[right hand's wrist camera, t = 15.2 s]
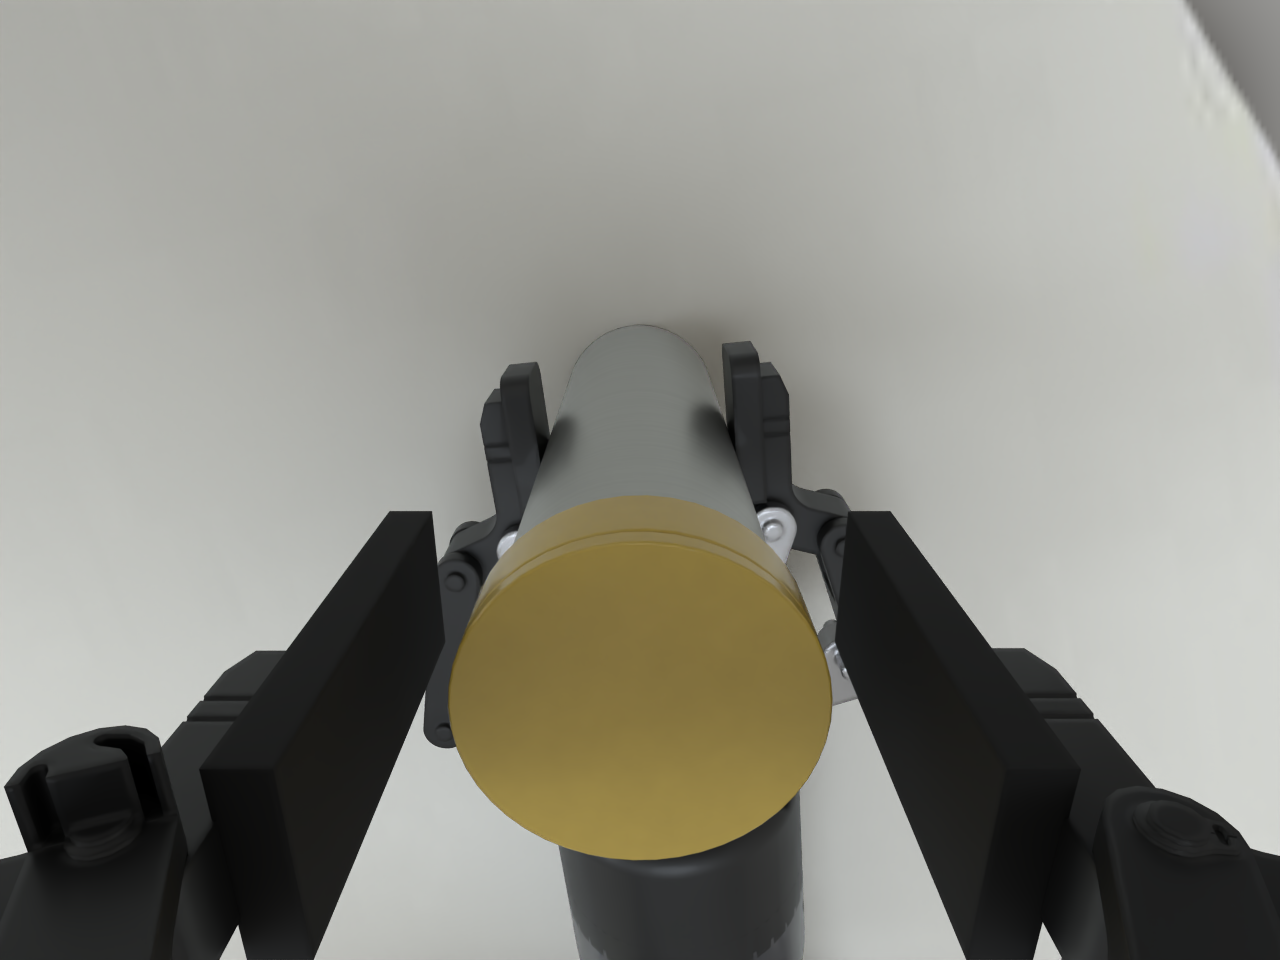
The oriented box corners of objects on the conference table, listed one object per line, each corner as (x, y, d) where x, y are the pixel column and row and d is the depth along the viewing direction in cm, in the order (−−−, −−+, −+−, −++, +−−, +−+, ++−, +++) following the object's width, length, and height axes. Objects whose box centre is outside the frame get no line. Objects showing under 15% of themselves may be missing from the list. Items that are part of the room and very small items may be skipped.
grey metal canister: (711, 461, 27) (798, 811, 12) (572, 466, 27) (492, 819, 12) (712, 322, 25) (813, 532, 11) (563, 327, 25) (456, 543, 11)
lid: (829, 500, 11) (859, 550, 10) (789, 788, 13) (808, 867, 12) (464, 486, 11) (437, 533, 10) (476, 778, 13) (455, 856, 12)
